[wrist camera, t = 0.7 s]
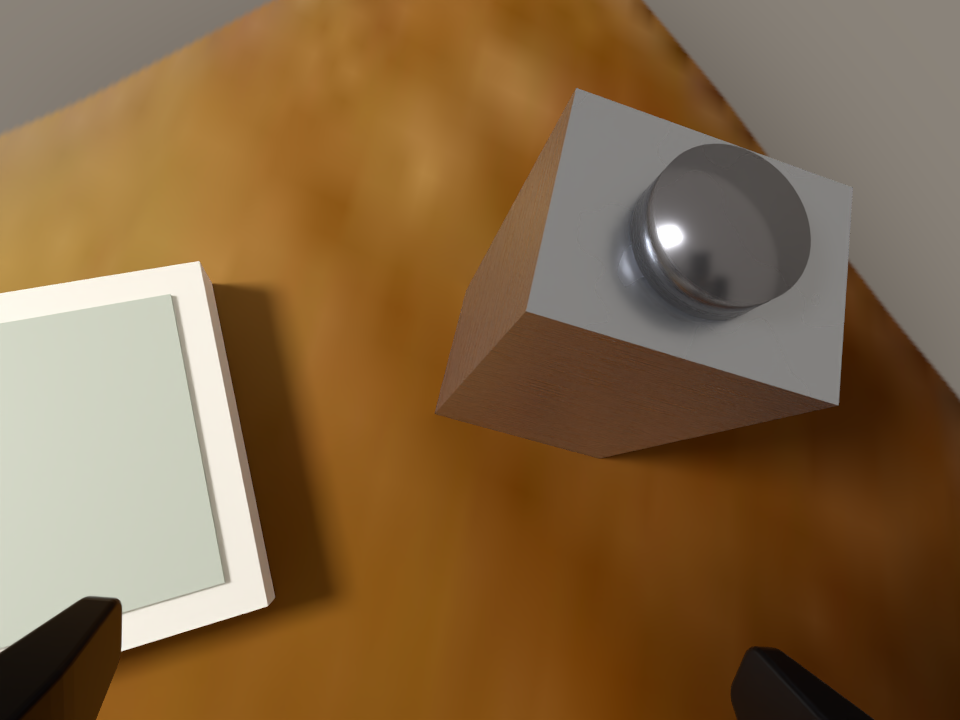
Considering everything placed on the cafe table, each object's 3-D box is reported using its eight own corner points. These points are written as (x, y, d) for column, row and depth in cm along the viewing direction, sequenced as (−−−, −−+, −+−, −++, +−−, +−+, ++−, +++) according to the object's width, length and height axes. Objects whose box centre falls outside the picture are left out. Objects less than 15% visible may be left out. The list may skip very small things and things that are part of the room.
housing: (599, 458, 24) (880, 396, 11) (434, 413, 23) (542, 292, 10) (621, 331, 25) (891, 152, 13) (467, 284, 24) (597, 43, 12)
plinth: (275, 597, 20) (267, 606, 18) (-132, 721, 17) (-197, 749, 15) (211, 283, 22) (198, 259, 20) (-163, 347, 19) (-224, 327, 17)
